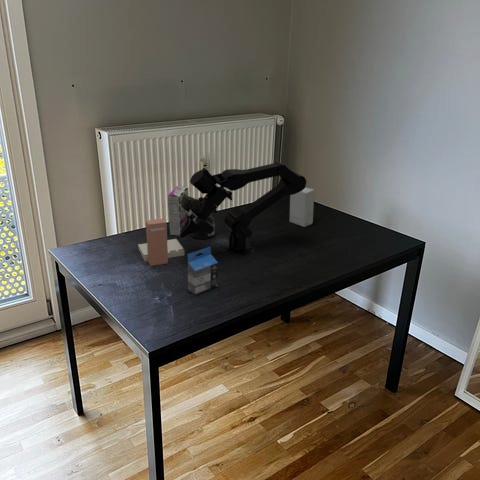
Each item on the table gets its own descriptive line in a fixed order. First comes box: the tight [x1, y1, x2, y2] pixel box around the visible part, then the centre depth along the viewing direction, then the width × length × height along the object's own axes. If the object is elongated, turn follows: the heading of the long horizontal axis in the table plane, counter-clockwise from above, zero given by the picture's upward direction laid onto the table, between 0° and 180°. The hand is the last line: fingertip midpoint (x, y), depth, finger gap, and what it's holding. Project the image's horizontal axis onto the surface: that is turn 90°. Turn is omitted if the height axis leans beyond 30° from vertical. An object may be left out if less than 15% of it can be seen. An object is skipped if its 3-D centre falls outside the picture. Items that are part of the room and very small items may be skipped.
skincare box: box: [288, 186, 315, 228], centre depth 194 cm, size 8×6×15 cm
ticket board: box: [137, 238, 186, 263], centre depth 168 cm, size 14×10×2 cm
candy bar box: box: [167, 185, 190, 237], centre depth 183 cm, size 11×5×16 cm, turn 168°
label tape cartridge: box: [187, 246, 219, 295], centre depth 144 cm, size 9×4×12 cm, turn 131°
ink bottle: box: [190, 213, 215, 240], centre depth 181 cm, size 10×9×12 cm
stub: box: [145, 218, 169, 267], centre depth 158 cm, size 6×4×15 cm, turn 113°
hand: (180, 236), depth 161 cm, fingers closed
